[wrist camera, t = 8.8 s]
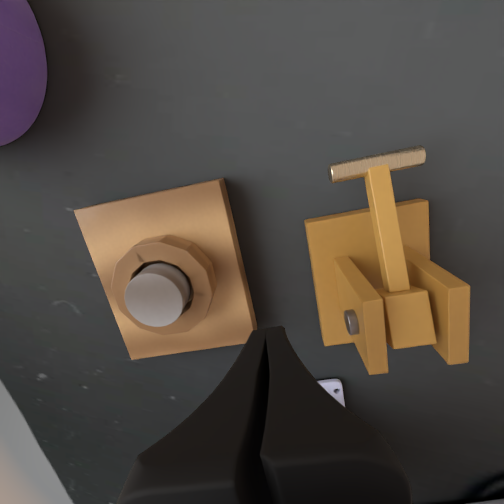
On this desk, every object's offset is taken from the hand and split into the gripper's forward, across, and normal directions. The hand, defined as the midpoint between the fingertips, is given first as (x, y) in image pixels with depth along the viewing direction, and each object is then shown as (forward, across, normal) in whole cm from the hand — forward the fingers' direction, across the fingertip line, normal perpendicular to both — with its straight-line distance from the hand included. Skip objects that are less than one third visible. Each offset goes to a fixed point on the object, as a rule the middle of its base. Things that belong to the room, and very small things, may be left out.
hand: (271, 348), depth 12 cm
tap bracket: (+10, -7, +2) cm, 13 cm away
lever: (+7, -7, -1) cm, 10 cm away
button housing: (+10, +7, -1) cm, 13 cm away
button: (+7, +7, -1) cm, 10 cm away
